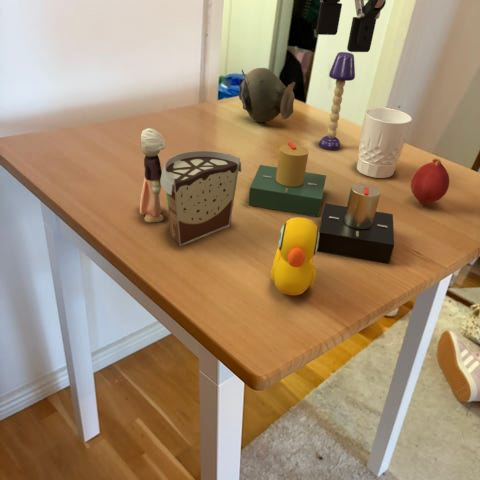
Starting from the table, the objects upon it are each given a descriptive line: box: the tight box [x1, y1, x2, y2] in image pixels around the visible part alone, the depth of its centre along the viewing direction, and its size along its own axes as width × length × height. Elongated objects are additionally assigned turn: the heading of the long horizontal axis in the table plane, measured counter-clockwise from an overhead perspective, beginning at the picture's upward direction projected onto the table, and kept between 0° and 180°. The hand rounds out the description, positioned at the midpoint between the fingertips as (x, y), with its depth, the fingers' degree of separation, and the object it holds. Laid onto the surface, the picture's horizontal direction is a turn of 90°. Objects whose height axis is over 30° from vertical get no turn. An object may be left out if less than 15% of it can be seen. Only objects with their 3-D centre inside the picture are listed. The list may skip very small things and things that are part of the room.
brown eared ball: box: [238, 67, 296, 123], centre depth 109 cm, size 10×12×10 cm
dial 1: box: [276, 141, 310, 187], centre depth 81 cm, size 4×4×5 cm
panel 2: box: [316, 202, 395, 264], centre depth 75 cm, size 10×9×3 cm
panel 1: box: [247, 164, 327, 218], centre depth 84 cm, size 11×9×3 cm
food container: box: [160, 150, 243, 248], centre depth 72 cm, size 12×6×10 cm, turn 134°
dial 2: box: [344, 182, 382, 229], centre depth 72 cm, size 4×4×5 cm
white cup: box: [356, 107, 413, 179], centre depth 93 cm, size 8×8×10 cm
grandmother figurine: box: [139, 127, 167, 224], centre depth 73 cm, size 8×4×13 cm, turn 22°
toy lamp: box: [318, 51, 356, 151], centre depth 99 cm, size 5×5×17 cm
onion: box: [410, 157, 450, 206], centre depth 85 cm, size 6×6×8 cm
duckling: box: [270, 217, 320, 296], centre depth 62 cm, size 11×5×10 cm, turn 171°
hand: (341, 42), depth 74 cm, fingers open, 9 cm apart
